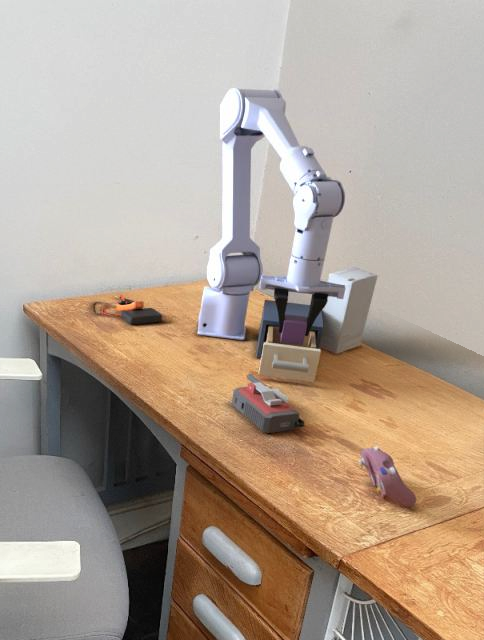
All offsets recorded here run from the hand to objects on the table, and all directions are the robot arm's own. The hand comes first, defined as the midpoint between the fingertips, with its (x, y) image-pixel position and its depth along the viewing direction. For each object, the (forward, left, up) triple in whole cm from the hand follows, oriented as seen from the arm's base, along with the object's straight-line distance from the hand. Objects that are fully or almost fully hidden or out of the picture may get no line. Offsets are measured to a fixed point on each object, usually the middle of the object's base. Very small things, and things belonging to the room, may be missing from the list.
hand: (292, 332), depth 140 cm
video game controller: (+14, -40, -8) cm, 43 cm away
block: (0, 0, -1) cm, 1 cm away
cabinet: (0, +11, -7) cm, 13 cm away
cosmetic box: (+10, +17, -8) cm, 21 cm away
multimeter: (-35, +22, -8) cm, 42 cm away
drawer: (0, -3, -6) cm, 7 cm away
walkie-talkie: (-4, -18, -8) cm, 20 cm away
